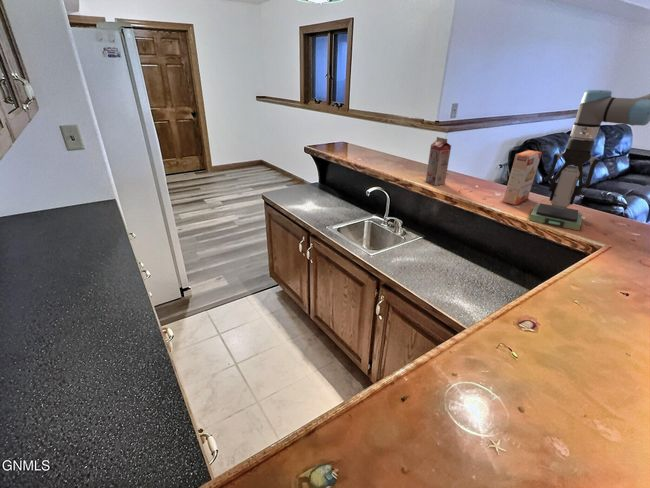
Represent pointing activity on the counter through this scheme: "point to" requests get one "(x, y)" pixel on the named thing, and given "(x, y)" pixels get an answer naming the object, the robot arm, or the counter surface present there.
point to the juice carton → (438, 162)
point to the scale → (556, 220)
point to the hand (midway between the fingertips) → (560, 201)
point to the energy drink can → (565, 187)
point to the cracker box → (521, 176)
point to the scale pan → (557, 212)
